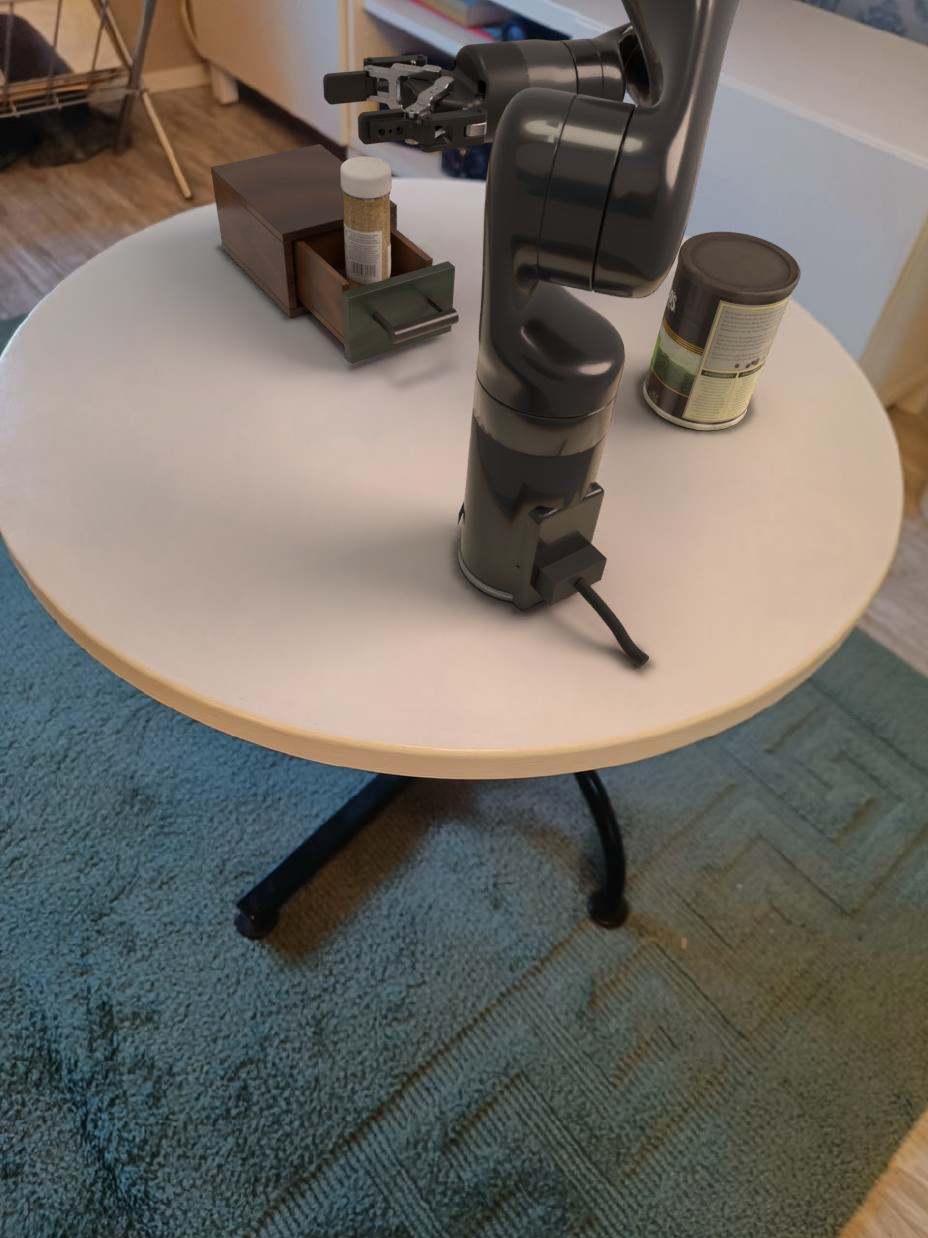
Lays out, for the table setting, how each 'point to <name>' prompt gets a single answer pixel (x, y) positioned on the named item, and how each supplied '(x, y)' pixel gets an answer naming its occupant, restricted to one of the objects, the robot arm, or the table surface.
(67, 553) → the table surface
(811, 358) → the table surface
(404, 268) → the drawer
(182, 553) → the table surface
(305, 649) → the table surface
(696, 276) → the coffee can
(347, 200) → the sprinkles bottle
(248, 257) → the cabinet
